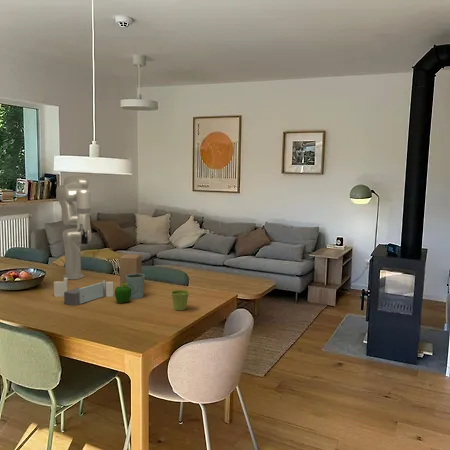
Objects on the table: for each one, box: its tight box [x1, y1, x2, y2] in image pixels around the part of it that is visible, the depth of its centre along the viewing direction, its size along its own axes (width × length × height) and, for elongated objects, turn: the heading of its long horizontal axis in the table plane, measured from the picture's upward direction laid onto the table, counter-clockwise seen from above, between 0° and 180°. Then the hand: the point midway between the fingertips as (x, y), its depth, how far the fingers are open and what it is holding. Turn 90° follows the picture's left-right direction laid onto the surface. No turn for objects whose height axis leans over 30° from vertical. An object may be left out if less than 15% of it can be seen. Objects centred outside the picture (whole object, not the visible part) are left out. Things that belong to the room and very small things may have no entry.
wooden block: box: [119, 253, 143, 287], centre depth 257 cm, size 10×10×20 cm
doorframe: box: [53, 278, 115, 298], centre depth 243 cm, size 2×32×10 cm, turn 91°
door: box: [78, 281, 103, 305], centre depth 236 cm, size 16×2×8 cm, turn 149°
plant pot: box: [170, 289, 190, 312], centre depth 224 cm, size 9×9×9 cm
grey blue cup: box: [126, 273, 146, 300], centre depth 244 cm, size 10×10×12 cm
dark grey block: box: [63, 287, 80, 307], centre depth 233 cm, size 7×10×6 cm
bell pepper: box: [114, 284, 131, 304], centre depth 234 cm, size 8×8×10 cm
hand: (84, 243), depth 253 cm, fingers closed
